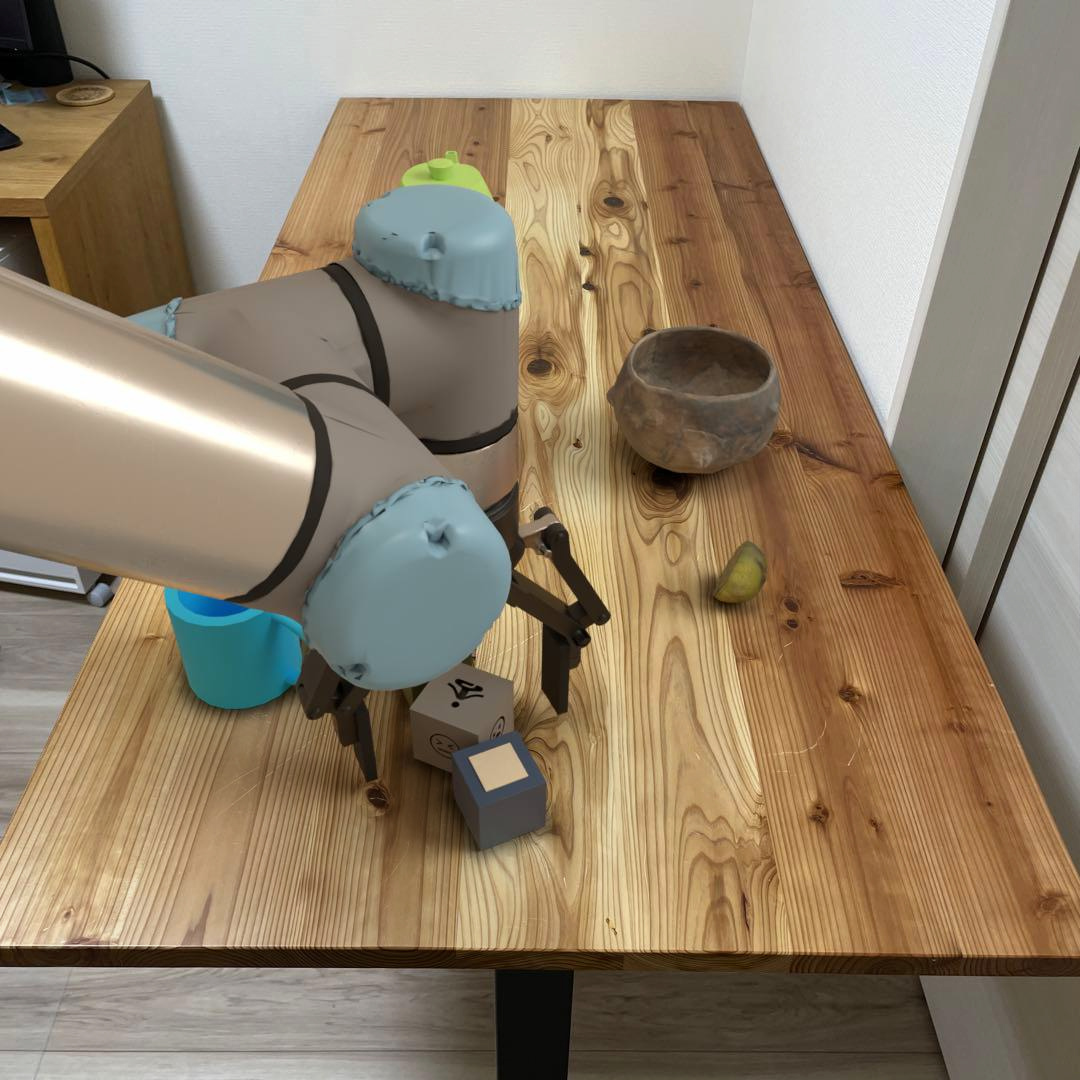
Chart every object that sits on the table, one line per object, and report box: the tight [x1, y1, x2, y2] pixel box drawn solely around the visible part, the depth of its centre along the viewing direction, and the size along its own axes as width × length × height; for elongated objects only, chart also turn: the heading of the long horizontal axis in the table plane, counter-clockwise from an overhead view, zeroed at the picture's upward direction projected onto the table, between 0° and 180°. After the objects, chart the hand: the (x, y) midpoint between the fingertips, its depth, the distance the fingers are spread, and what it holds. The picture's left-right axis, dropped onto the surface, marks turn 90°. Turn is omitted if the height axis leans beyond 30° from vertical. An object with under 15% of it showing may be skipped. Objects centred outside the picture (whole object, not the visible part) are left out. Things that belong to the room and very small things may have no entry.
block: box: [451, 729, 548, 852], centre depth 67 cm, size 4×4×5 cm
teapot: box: [396, 150, 495, 202], centre depth 124 cm, size 20×13×13 cm
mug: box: [163, 587, 311, 710], centre depth 75 cm, size 12×8×8 cm
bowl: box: [605, 325, 782, 475], centre depth 96 cm, size 14×15×10 cm
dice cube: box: [408, 663, 515, 774], centre depth 71 cm, size 5×5×5 cm
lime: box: [713, 540, 768, 604], centre depth 83 cm, size 4×5×5 cm
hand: (463, 732), depth 72 cm, fingers open, 13 cm apart
